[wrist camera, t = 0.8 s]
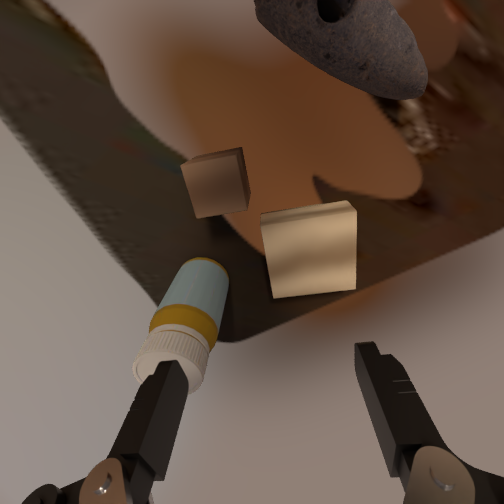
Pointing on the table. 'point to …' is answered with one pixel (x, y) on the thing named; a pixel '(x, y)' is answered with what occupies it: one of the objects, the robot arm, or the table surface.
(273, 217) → the plinth
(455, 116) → the table surface
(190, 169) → the walnut block
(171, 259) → the table surface
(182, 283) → the bottle
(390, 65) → the perforated stone tool
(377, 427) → the robot arm
